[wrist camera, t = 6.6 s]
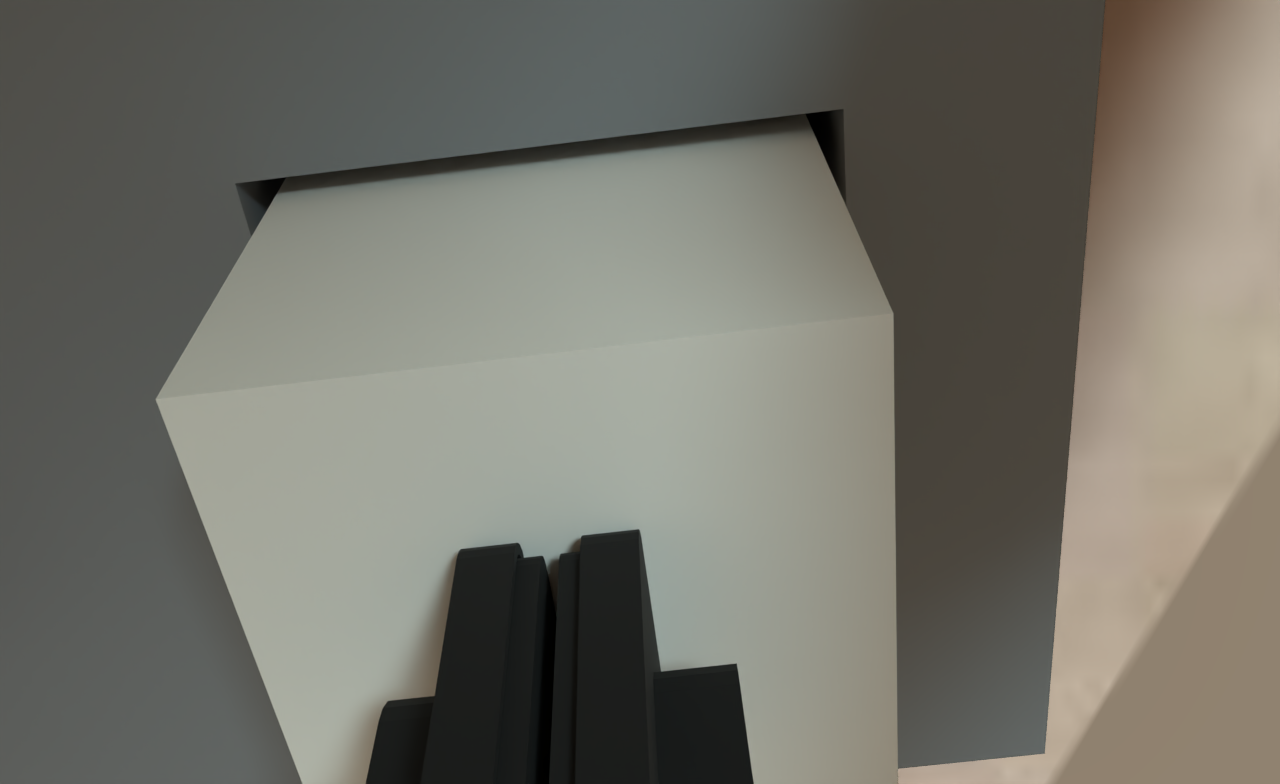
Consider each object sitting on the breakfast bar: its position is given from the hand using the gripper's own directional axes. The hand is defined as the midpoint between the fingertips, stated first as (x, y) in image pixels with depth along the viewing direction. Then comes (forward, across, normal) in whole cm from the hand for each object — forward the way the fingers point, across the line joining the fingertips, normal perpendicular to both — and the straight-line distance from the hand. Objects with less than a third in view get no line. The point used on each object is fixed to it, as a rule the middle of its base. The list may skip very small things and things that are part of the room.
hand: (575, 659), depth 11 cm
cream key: (+5, 0, 0) cm, 5 cm away
